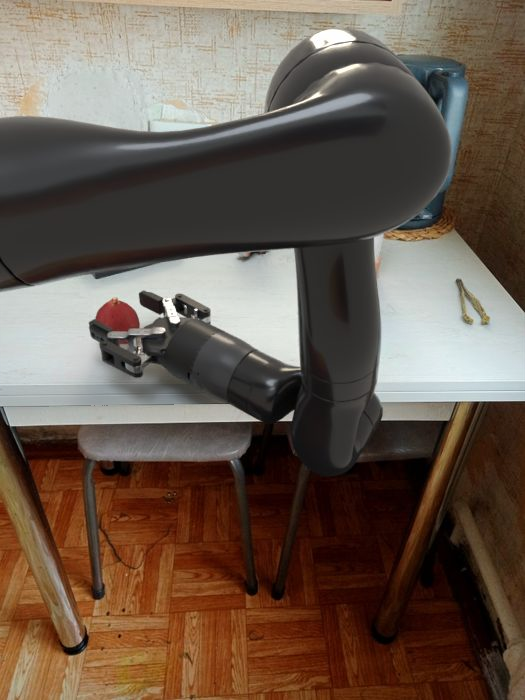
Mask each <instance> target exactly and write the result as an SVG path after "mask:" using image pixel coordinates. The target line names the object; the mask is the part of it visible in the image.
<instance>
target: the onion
mask: <svg viewBox="0 0 525 700" xmlns="http://www.w3.org/2000/svg"><path fill="white" fill-rule="evenodd" d="M94 319H95V320H97V321H99V322H101V323H103V324H104V325H106V326H108V327H110V328H112V329H114V331H125V332H126V331H128V330H129V329H130V328H140V327H141V322H140V319H139V316H138V313H137V311H136V309H134V308H133V307H132V306H131V305H130V304H128V303H127V302H125V301H122V300H119V298H118V297H117V296H115V297H114V296H113V297H112V298H111V299H110V300H108V301H107V302H105V303H104V304H103V305H102V306H100V308H98V310H97V312H96V315H95V318H94ZM119 344H128V342H127V341H119Z"/></svg>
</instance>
